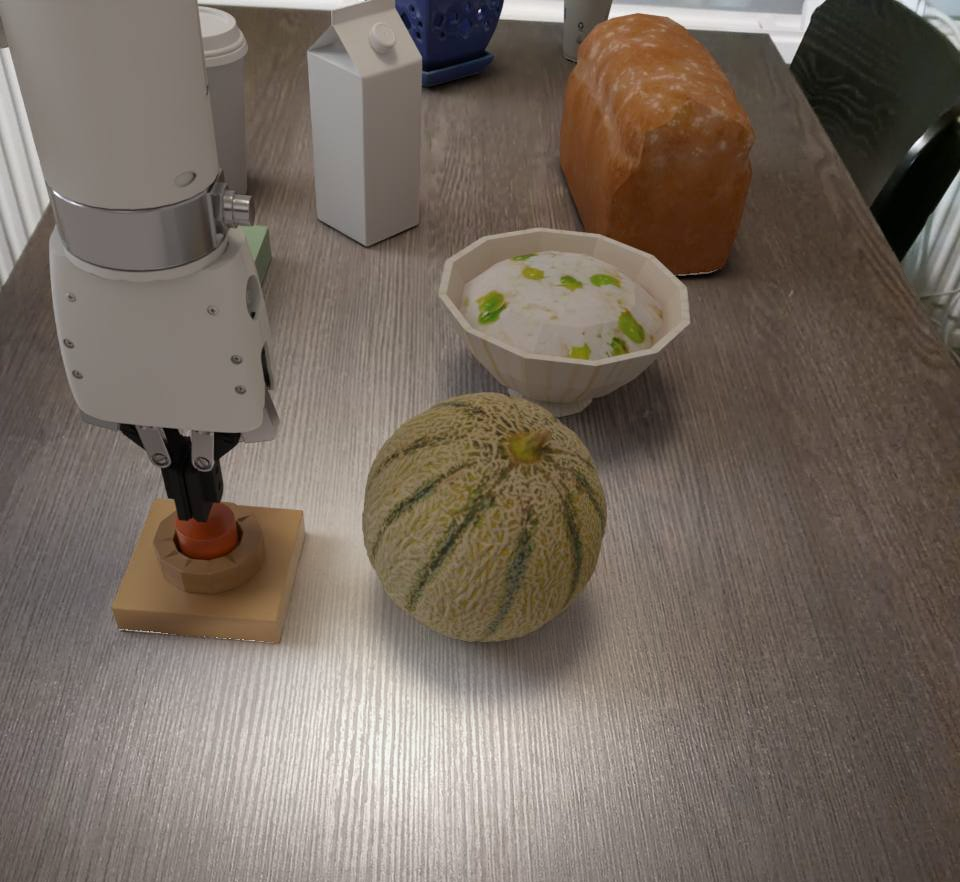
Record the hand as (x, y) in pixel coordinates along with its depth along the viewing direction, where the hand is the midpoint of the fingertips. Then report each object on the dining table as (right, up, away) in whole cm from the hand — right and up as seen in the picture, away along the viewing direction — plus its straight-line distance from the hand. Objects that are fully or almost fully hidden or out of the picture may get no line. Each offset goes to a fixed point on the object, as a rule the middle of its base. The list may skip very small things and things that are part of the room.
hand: (198, 505), depth 59 cm
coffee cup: (-10, +37, +39) cm, 55 cm away
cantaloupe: (+17, -6, +5) cm, 18 cm away
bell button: (0, -2, +2) cm, 3 cm away
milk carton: (+6, +33, +37) cm, 49 cm away
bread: (+33, +36, +42) cm, 64 cm away
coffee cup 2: (+30, +68, +69) cm, 102 cm away
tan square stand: (0, -4, +5) cm, 6 cm away
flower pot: (+11, +63, +62) cm, 89 cm away
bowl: (+23, +12, +21) cm, 33 cm away
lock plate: (-8, +23, +27) cm, 37 cm away
